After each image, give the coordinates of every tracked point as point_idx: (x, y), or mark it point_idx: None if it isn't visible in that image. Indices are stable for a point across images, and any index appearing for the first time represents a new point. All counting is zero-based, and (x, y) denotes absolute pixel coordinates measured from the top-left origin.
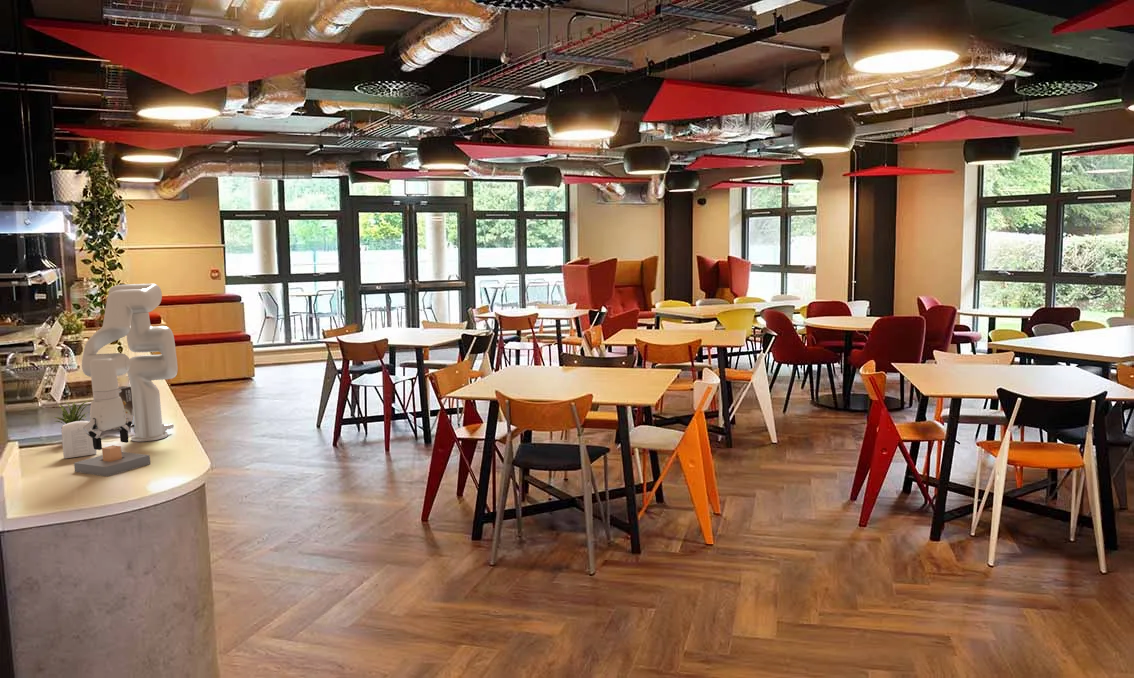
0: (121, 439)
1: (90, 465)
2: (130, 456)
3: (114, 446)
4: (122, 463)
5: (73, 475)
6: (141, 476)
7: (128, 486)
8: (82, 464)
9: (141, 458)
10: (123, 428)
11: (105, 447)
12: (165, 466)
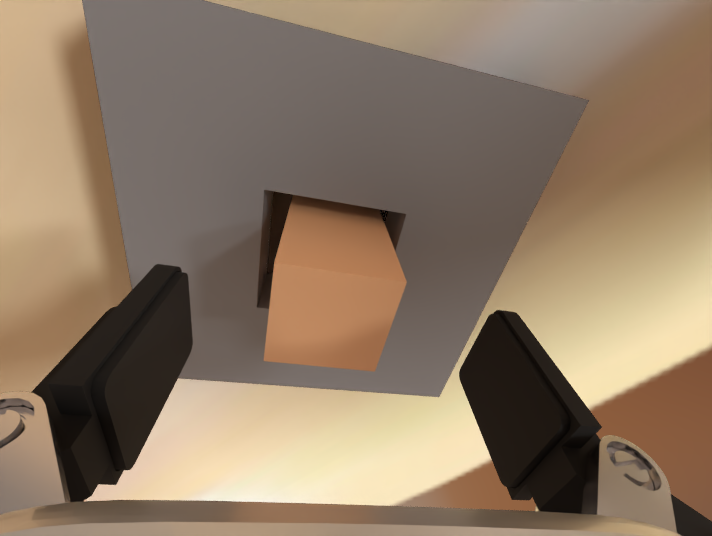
0: (495, 343)
1: (125, 242)
2: (405, 328)
3: (359, 331)
4: (264, 380)
5: (60, 95)
6: (239, 444)
7: (119, 484)
8: (109, 134)
9: (386, 388)
10: (567, 505)
11: (305, 281)
12: (391, 427)
